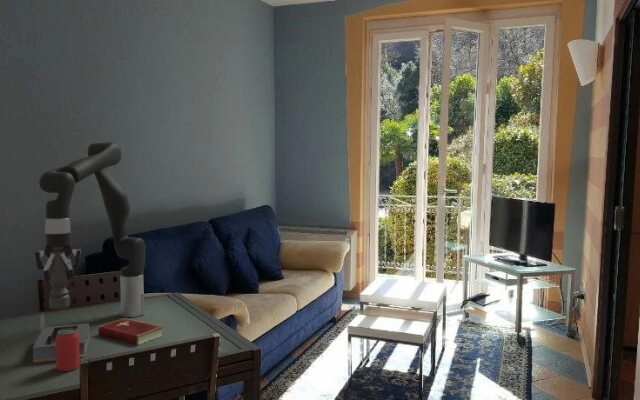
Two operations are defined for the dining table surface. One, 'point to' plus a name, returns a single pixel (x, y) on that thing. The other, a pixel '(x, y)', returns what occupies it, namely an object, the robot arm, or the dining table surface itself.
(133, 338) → the hardcover book
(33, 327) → the dining table surface
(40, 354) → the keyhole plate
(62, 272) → the candle holder
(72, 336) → the beer can
